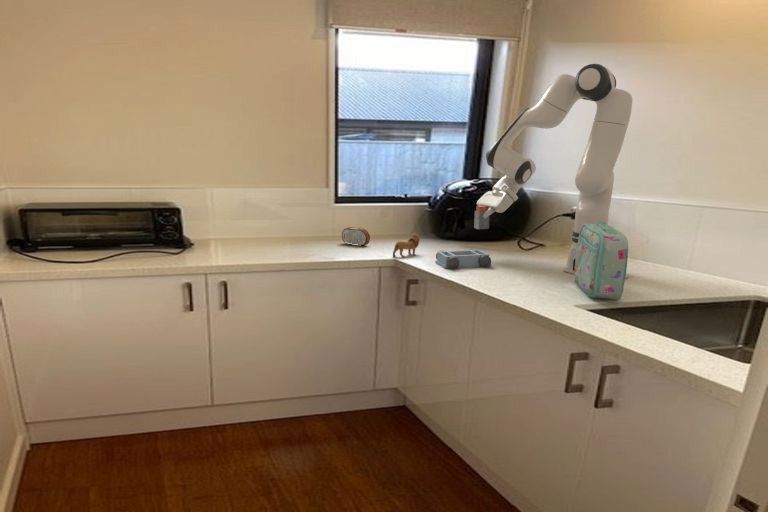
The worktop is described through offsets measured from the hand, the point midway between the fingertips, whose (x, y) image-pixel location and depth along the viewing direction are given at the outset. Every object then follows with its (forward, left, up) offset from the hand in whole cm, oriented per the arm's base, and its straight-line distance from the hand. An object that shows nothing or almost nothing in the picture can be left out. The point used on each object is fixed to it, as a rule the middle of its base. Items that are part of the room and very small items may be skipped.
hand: (480, 216), depth 193 cm
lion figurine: (+13, +27, -18) cm, 35 cm away
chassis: (-8, +10, -17) cm, 22 cm away
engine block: (0, -1, -5) cm, 5 cm away
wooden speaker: (+42, +44, -18) cm, 64 cm away
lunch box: (-53, -16, -18) cm, 58 cm away
